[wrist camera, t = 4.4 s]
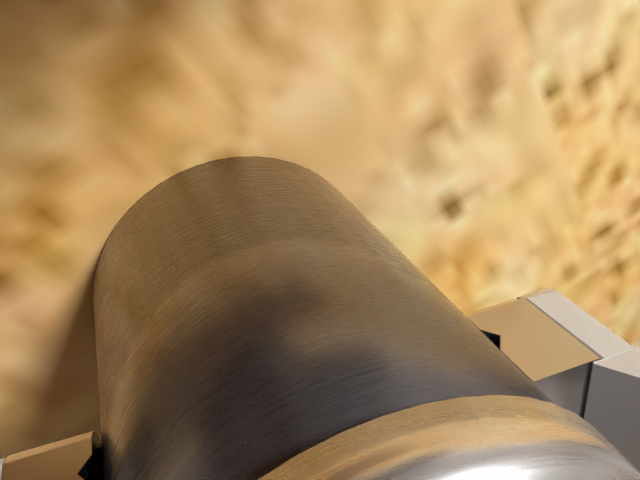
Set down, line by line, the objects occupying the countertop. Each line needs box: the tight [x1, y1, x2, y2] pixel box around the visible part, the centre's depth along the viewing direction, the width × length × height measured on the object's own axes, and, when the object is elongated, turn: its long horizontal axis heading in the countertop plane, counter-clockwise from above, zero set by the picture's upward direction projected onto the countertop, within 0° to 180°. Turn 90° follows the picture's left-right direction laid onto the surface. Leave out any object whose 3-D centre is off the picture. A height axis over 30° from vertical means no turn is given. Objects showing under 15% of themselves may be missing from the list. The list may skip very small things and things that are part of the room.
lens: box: [93, 157, 640, 480], centre depth 7 cm, size 5×5×8 cm
